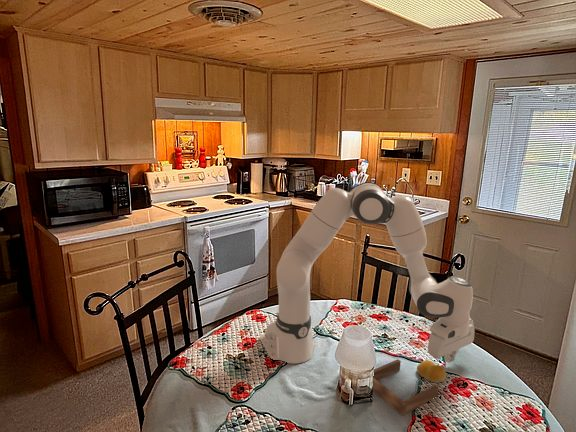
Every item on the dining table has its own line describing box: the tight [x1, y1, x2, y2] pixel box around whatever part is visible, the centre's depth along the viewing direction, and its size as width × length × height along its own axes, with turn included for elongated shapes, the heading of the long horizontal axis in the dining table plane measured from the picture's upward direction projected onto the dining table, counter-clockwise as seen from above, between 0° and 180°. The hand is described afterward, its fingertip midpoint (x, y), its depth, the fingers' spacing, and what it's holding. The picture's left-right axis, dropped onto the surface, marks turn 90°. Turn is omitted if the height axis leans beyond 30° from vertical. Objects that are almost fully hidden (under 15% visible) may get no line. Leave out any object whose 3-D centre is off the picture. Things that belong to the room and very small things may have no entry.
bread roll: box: [416, 359, 447, 383], centre depth 130 cm, size 8×9×4 cm
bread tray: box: [373, 358, 439, 416], centre depth 122 cm, size 16×15×4 cm
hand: (449, 360), depth 135 cm, fingers closed
